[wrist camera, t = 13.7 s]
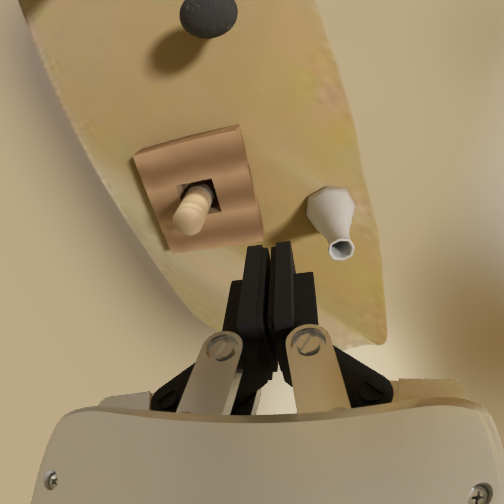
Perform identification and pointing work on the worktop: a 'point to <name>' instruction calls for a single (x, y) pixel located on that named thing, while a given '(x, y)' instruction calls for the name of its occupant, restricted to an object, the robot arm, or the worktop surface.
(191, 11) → the light bulb
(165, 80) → the worktop surface
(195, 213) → the peg
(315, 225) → the flask
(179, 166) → the board
